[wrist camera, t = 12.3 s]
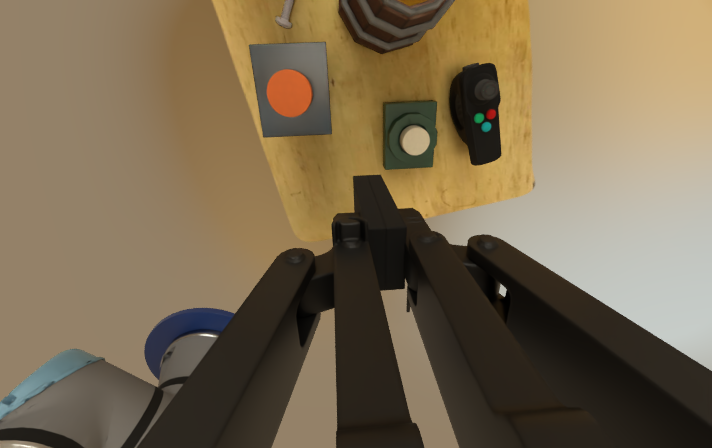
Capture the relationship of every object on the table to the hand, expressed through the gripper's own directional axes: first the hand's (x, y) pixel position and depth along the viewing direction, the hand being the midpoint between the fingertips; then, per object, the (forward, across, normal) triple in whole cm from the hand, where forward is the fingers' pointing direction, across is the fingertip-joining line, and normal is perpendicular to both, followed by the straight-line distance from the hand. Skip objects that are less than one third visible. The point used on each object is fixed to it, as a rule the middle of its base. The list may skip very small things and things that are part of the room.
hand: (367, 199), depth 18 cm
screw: (+31, +6, -14) cm, 34 cm away
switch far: (+30, -9, +2) cm, 32 cm away
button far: (+27, -9, +2) cm, 28 cm away
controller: (+31, -17, -1) cm, 35 cm away
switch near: (+30, +5, -5) cm, 31 cm away
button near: (+13, +5, -5) cm, 15 cm away
